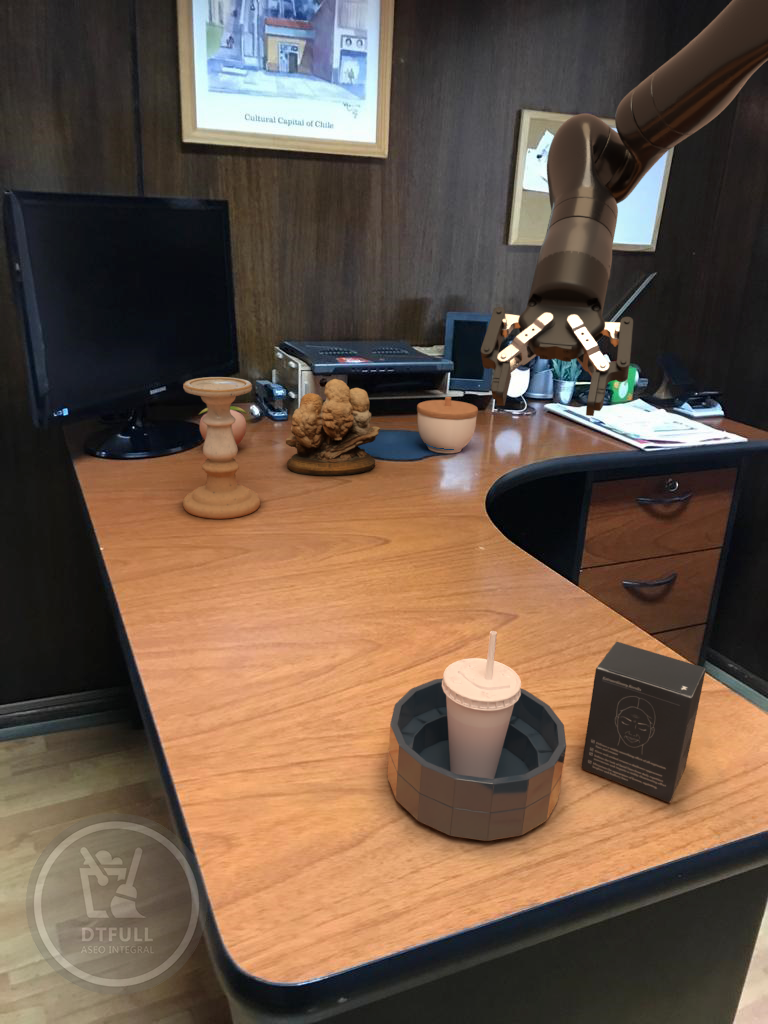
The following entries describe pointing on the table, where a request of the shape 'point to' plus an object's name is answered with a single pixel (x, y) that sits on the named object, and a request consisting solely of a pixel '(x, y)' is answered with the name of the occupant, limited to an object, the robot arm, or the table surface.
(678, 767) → the box
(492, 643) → the smoothie
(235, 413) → the decorative fruit
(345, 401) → the owl figurine
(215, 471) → the candle holder
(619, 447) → the table surface
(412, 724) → the bowl
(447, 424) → the lidded bowl
